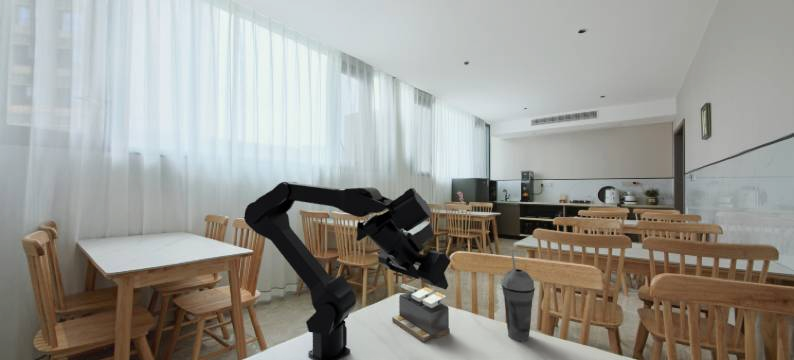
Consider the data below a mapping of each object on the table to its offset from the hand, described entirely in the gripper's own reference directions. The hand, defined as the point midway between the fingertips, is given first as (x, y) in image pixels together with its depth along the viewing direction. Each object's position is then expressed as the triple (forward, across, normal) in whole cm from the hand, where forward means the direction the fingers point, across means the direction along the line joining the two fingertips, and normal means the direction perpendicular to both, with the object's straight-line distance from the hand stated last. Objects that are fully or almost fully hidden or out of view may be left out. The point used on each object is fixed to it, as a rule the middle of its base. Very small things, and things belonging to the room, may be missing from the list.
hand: (432, 282), depth 69 cm
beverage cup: (+23, -9, -3) cm, 25 cm away
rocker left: (+7, +12, +1) cm, 14 cm away
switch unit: (+11, +8, +8) cm, 16 cm away
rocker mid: (+7, +8, +2) cm, 10 cm away
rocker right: (+7, +3, +2) cm, 8 cm away
